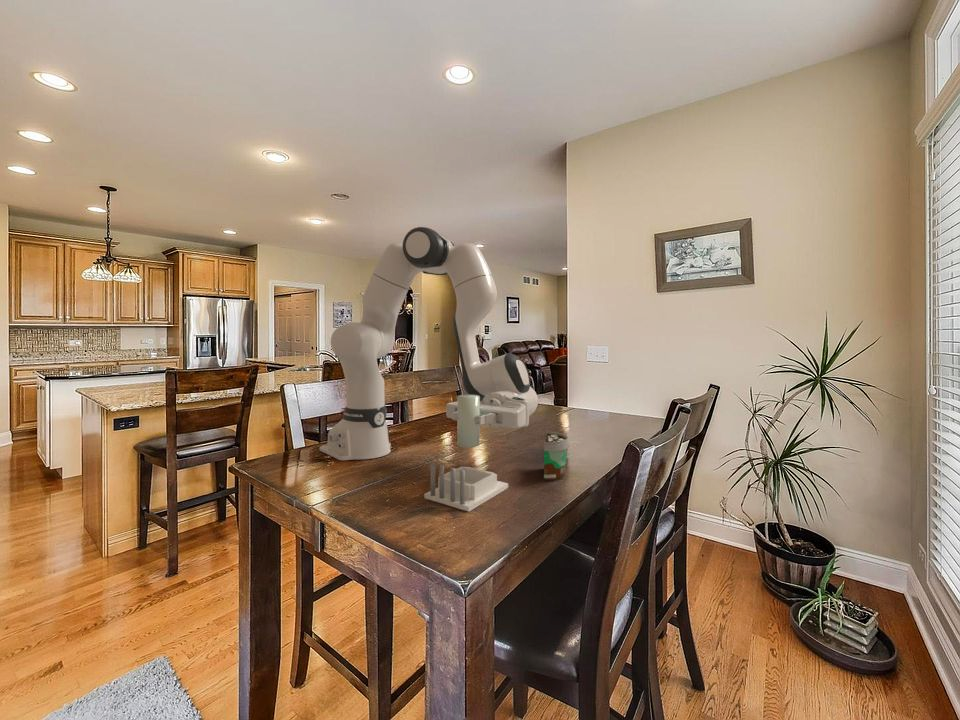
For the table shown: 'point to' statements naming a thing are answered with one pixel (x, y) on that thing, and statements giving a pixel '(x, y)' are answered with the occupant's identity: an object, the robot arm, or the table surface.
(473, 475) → the dish rack
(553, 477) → the food container
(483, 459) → the table surface
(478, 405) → the pale green canister
